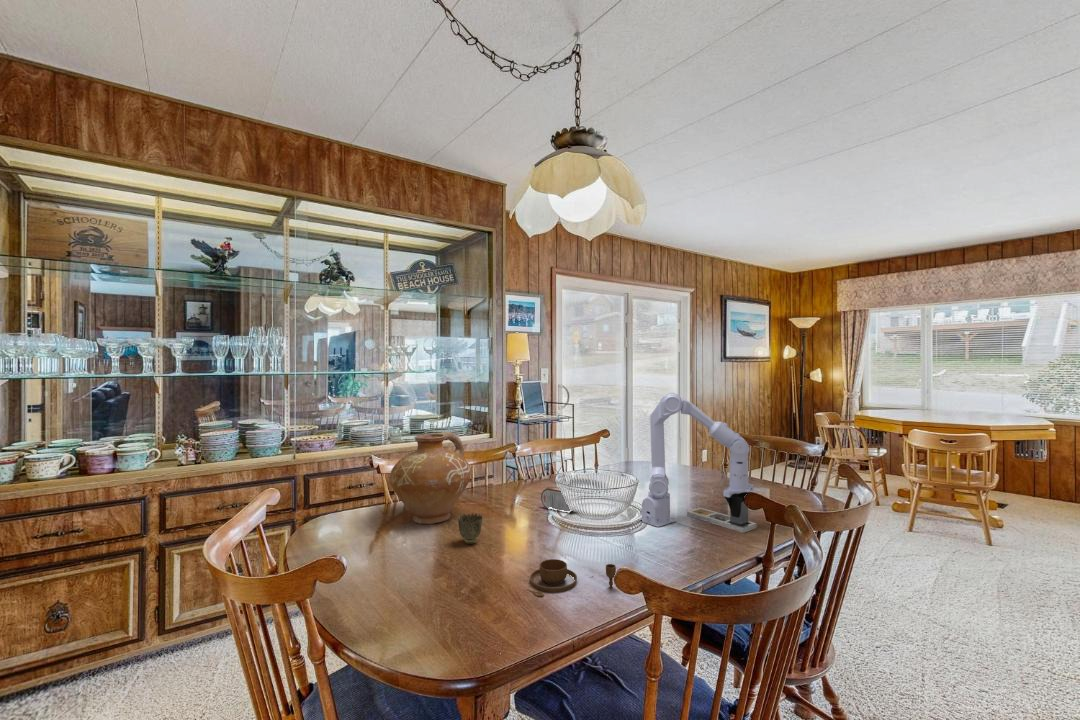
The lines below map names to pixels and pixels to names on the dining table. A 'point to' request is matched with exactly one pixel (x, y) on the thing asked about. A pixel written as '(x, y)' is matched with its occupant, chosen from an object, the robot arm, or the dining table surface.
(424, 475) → the jug
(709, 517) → the grey compartment tray
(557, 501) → the tin
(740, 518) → the block
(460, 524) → the cup
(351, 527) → the dining table surface
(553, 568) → the place setting
